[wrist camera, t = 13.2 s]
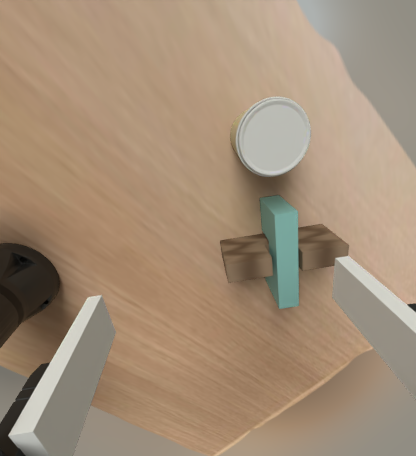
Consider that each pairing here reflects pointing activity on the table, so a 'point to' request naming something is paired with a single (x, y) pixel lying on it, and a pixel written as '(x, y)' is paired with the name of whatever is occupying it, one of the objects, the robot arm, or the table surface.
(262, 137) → the coffee cup
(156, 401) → the table surface
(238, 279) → the walnut rail
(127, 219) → the table surface
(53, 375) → the robot arm
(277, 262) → the teal rectangular block
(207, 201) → the table surface
